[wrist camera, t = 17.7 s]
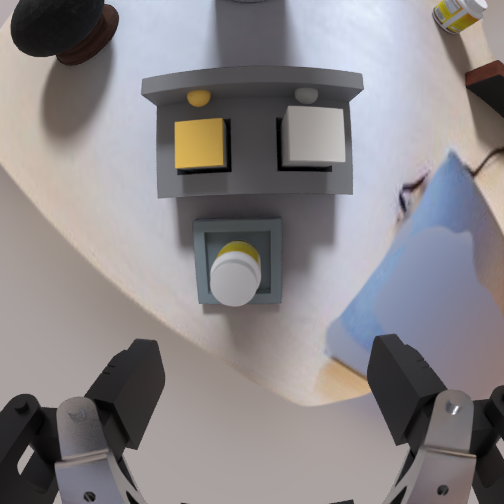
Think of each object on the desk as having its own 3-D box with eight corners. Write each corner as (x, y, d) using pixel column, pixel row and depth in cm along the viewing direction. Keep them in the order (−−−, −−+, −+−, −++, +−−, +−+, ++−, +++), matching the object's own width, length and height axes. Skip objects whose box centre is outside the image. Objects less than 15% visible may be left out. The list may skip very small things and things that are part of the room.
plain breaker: (280, 167, 26) (290, 160, 18) (279, 128, 25) (288, 105, 17) (320, 168, 26) (345, 161, 18) (319, 129, 25) (342, 109, 17)
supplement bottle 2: (460, 28, 22) (494, 7, 12) (452, 39, 23) (488, 18, 13) (437, 4, 21) (467, -21, 11) (426, 14, 22) (458, -13, 12)
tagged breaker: (195, 172, 29) (175, 168, 22) (195, 137, 28) (174, 122, 21) (231, 170, 29) (222, 164, 21) (231, 134, 28) (222, 117, 21)
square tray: (201, 297, 33) (198, 303, 31) (196, 219, 31) (192, 221, 29) (280, 296, 33) (281, 303, 31) (280, 217, 31) (281, 219, 29)
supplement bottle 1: (213, 244, 31) (198, 265, 23) (254, 233, 31) (253, 251, 22) (225, 284, 32) (215, 316, 24) (265, 274, 32) (267, 304, 23)
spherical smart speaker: (110, 63, 26) (44, 18, 11) (44, 78, 26) (-22, 56, 11) (136, -6, 23) (94, -61, 8) (69, 12, 23) (19, -23, 8)
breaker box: (175, 195, 30) (141, 201, 21) (174, 107, 28) (142, 78, 18) (335, 192, 30) (369, 196, 20) (332, 104, 27) (362, 73, 18)
